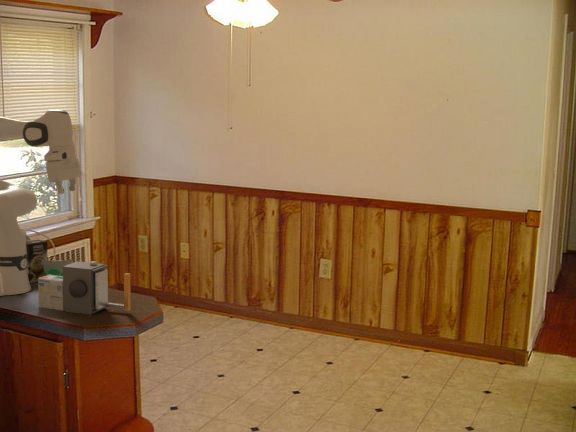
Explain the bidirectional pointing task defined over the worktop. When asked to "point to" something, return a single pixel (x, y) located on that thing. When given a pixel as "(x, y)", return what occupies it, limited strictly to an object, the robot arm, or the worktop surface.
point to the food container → (55, 266)
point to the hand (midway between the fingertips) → (67, 192)
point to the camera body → (80, 287)
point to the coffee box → (35, 259)
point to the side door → (102, 291)
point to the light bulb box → (51, 292)
